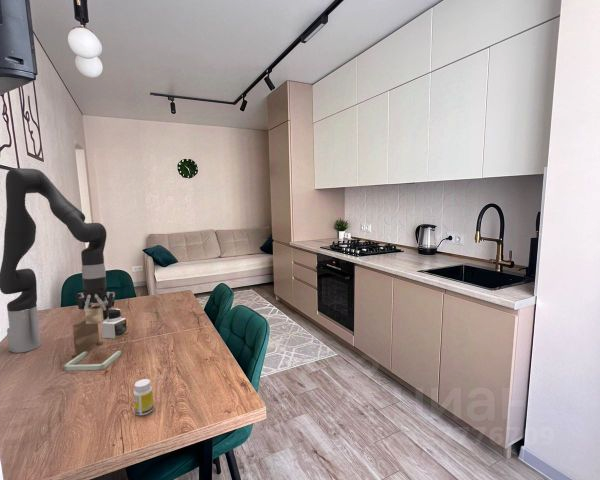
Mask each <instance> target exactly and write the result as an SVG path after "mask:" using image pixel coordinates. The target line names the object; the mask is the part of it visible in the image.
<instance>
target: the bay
mask: <svg viewBox="0 0 600 480" xmlns="http://www.w3.org/2000/svg"><path fill="white" fill-rule="evenodd" d="M85 354H86V356H85ZM121 355H122V350H117V351H116V352H114V353H113V354H112V355H111V356H109V357H108V358H107V359H106V360H105V361H103V362H102V363H96V364H95V363H91V364H77V363H78V362H80V361H81V360H82V359H84V358H85V357H87V356H88V352H83V353H81V354H80V355H78V356H77V357H74V358H73V359H71V360H70V361H68V362H67V363H65V364H64V365H62V366H61V369H62V372H63V371H98V370H99V371H100V370H101V371H102V370H105V369H106V368H107V367H108V366H110V365H111V364H112V363H113V362H114V361H115V360H116V359H117V358H119V357H120V356H121ZM84 356H85V357H84Z"/></svg>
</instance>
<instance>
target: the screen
mask: <svg viewBox="0 0 600 480" xmlns="http://www.w3.org/2000/svg"><path fill="white" fill-rule="evenodd" d="M72 333H73V334H72V335H73V344H74V347H73V348H74V353H72V354H71V355H70V356H71V358H73V359H74V358H75V357H77V356H78V355H80V354H81V353H83V352H87V353H88V352H90V351H91V350H92V349H94V348H95V347H97V346H102V345H104V341H100V334H99V324H86V318H85V317H84V319H81V320H80V321H79V322H75V323H74V324H72ZM85 357H87V356H86V354H85V356H84V358H85Z"/></svg>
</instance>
